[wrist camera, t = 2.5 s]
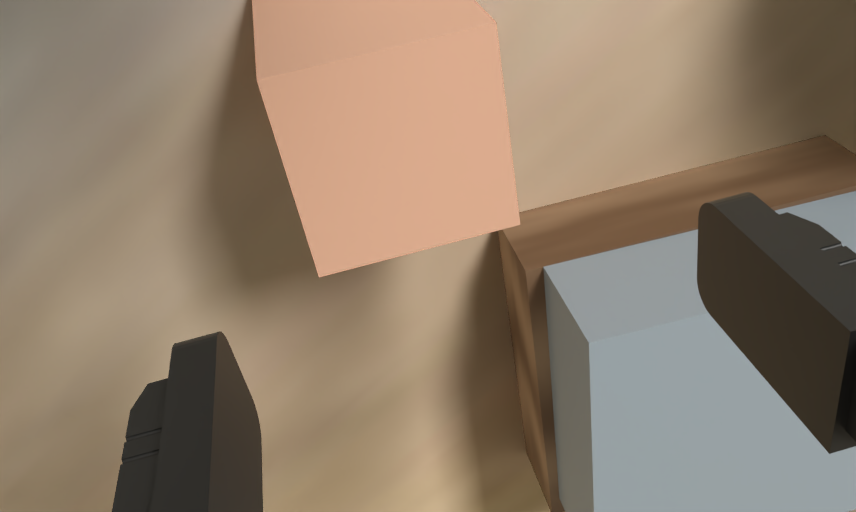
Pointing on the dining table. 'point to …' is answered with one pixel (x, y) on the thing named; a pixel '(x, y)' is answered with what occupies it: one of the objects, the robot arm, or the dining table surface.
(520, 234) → the tower base
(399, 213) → the terracotta block
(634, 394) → the tower top
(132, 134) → the dining table surface
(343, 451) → the dining table surface
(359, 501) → the dining table surface
